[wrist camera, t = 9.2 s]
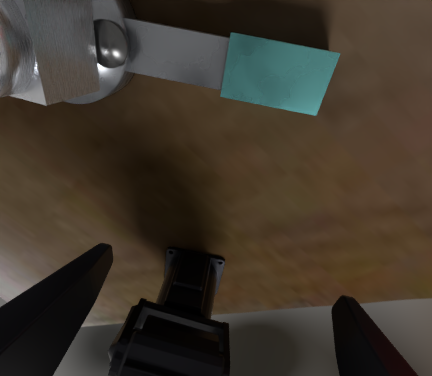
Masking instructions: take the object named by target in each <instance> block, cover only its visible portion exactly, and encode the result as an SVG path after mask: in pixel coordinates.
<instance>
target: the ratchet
mask: <svg viewBox="0 0 432 376" xmlns="http://www.w3.org/2000/svg"><path fill="white" fill-rule="evenodd" d="M91 4H92V14H93V24H94V34H95V44H96V54H97V64H98V75H99V85H100V91H98V92H94V93H90V94H87V95H83V96H79V97H76V98H72V99H68V100H65V102H69V103H75V104H86V103H92V102H95V101H98V100H100V99H102V98H105V97H107V96H109V95H111V94H113V93H116V92H117V91H119V90H121V89H122V88H124V87H125V86H126V85H127V84H128V83H129V82H130V81H131V79H132V78H133V76H134V74H135V73H138V74H143V75H148V76H153V77H158V78H163V79H168V80H173V81H178V82H183V83H188V84H193V85H198V86H203V87H208V88H213V89H218V90H221V96H220V97H225V98H230V99H235V100H240V101H245V102H250V103H255V104H260V105H265V106H270V107H275V108H280V109H285V110H290V111H295V112H300V113H305V114H310V115H315V116H316V115H317V112H318V110H319V107H320V104H321V102H322V99H323V97H324V94H325V92H326V89H327V87H328V84H329V81H330V79H331V76H332V74H333V71H334V69H335V66H336V64H337V61H338V58H339V56H340V53H337V52H333V51H329V50H324V49H319V48H314V47H309V46H303V45H298V44H293V43H288V42H283V41H278V40H272V39H267V38H262V37H257V36H252V35H247V34H241V33H236V32H231V35H230V37H227V36H222V35H217V34H212V33H207V32H201V31H196V30H191V29H186V28H181V27H176V26H171V25H165V24H160V23H155V22H150V21H145V20H140V19H136V15H135V13H134V10H133V8H132V5H131V3H130V1H129V0H91Z"/></svg>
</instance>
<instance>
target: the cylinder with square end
mask: <svg viewBox="0 0 432 376" xmlns="http://www.w3.org/2000/svg"><path fill="white" fill-rule="evenodd" d="M98 91H100V85H99V75H98V64H97V54H96V44H95V34H94V24H93V14H92V4H91V0H0V97H5V96H13V97H16V98H20V99H24V100H28V101H31V102H35V103H39V104H43V105H46V106H47V105H50V104H54V103H58V102H61V101H65V100H68V99H72V98H76V97H79V96H83V95H87V94H90V93H94V92H98Z"/></svg>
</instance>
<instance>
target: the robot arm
mask: <svg viewBox="0 0 432 376" xmlns="http://www.w3.org/2000/svg"><path fill="white" fill-rule="evenodd" d="M219 261H221V262H219ZM112 263H113V253H112V246H111V245H109V244H105V243H100V244H98V245H96V246H95V247H93V248H92V249H90V250H88V251H87V252H85V253H84V254H82V255H81V256H79V257H78V258H76V259H74V260H73V261H71V262H70V263H68V264H67V265H65V266H64V267H62V268H60V269H59V270H57V271H56V272H54V273H53V274H51V275H50V276H48V277H46V278H45V279H43V280H42V281H40V282H39V283H37V284H36V285H34V286H32V287H31V288H29V289H28V290H26V291H25V292H23V293H22V294H20V295H18V296H17V297H15V298H14V299H12V300H11V301H9V302H8V303H6V304H5V305H3V306H1V307H0V376H53V374H54V372H55V371H56V369H57V367H58V366H59V364H60V362H61V360H62V359H63V357H64V355H65V354H66V352H67V350H68V348H69V347H70V345H71V343H72V341H73V340H74V338H75V336H76V334H77V333H78V331H79V329H80V328H81V326H82V324H83V322H84V321H85V319H86V317H87V315H88V314H89V312H90V310H91V308H92V307H93V305H94V303H95V301H96V299H97V297H98V295H99V292H100V290H101V288H102V286H103V283H104V281H105V279H106V277H107V274H108V272H109V270H110V268H111V265H112ZM224 265H225V259H224V258H222V257H217V256H213V255H208V254H203V253H199V252H194V251H190V250H185V249H180V248H176V247H168V249H167V251H166V265H165V279H164V282H163V284H162V287H161V290H160V293H159V295H158V298H157V301H156V303H153V302H150V301H147V299H144V298H141V299H140V301H139V303H138V305H135V306H132V307H131V310H130V312H129V314H128V316H127V319H126V321H125V323H124V325H123V326H122V328H121V330H120V331H119V333H118V335H117V336H116V338H115V340H114V341H113V343H112V345H111V346H110V349H109V352H108V354H109V357H110V360H111V362H110V366H109V367H110V370H109V374H108V376H229V374H230V351H229V350H230V349H229V324H228V323H226V322H223V323H222V322H218V321H215V320H212V319H211V316H212V309H213V303H214V296H215V295H216V294H217V290H218V287H219V283H220V280H221V276H222V272H223V269H224ZM332 321H333V332H334V343H335V352H336V359H337V364H338V369H339V375H340V376H418V375H417V374H416V372H415V371H414V370H413V369H412V368H411V366H410V365H409V364H408V363H407V361H406V360H405V359H404V358H403V357H402V355H401V354H400V353H399V352H398V351H397V349H396V348H395V347H394V346H393V344H391V342H390V341H389V340H388V338H387V337H386V336H385V335H384V334H383V332H381V330H380V329H379V328H378V326H377V325H376V324H375V323H374V322H373V320H372V319H371V318H370V317H369V315H368V314H367V313H366V312H365V311H364V309H363V308H362V307H361V306H360V305H359V303H358V302H357V301H356V300H355V299H354V298H353V297H349V296H345V295H342V296H340V298H339V299H338V300H337V301H336V303H335V304H334V305H333V307H332Z"/></svg>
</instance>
